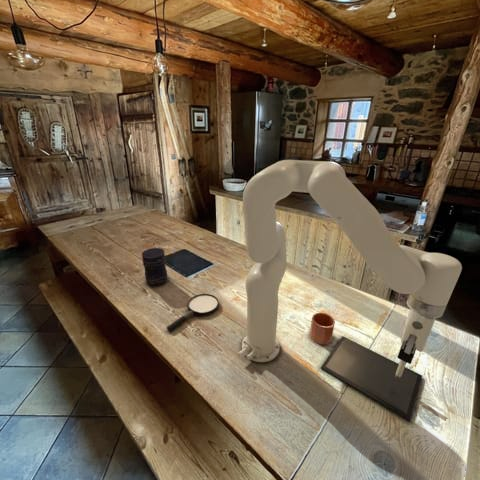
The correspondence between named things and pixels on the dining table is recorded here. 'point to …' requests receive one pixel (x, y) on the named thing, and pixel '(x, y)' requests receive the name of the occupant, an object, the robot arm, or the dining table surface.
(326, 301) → the dining table surface
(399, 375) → the stylus
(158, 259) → the storage jar
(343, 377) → the tablet
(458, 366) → the dining table surface
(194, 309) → the magnifying glass
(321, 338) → the pen pot
